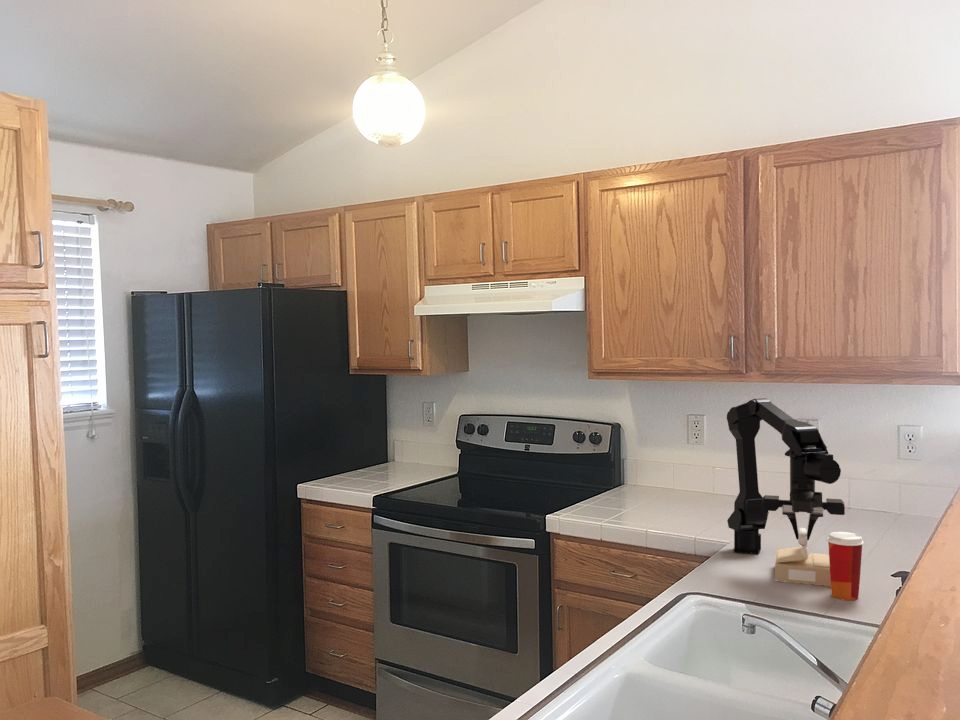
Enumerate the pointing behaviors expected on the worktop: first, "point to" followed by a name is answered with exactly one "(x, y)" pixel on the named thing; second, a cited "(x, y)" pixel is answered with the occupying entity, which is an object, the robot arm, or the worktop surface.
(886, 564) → the worktop surface
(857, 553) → the paper cup
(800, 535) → the flap
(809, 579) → the carton
